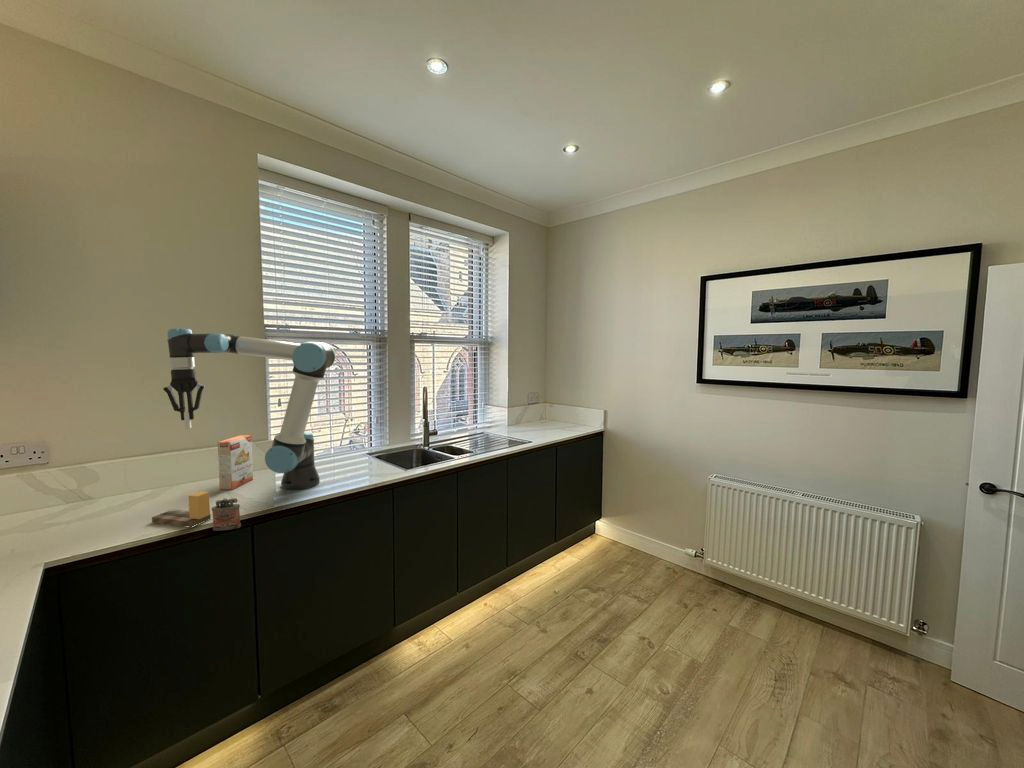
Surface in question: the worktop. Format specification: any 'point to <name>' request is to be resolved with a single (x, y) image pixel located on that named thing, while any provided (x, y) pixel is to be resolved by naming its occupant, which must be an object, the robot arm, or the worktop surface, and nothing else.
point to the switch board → (178, 518)
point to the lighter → (226, 515)
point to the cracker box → (235, 461)
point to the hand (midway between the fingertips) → (188, 428)
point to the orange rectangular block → (199, 505)
